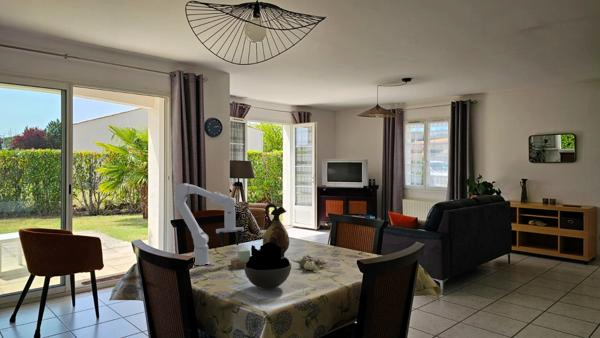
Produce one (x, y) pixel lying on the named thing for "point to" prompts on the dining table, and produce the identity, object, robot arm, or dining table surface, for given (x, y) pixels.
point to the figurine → (311, 263)
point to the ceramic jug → (276, 229)
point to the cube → (243, 254)
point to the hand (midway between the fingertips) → (230, 245)
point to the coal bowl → (267, 266)
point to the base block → (238, 263)
